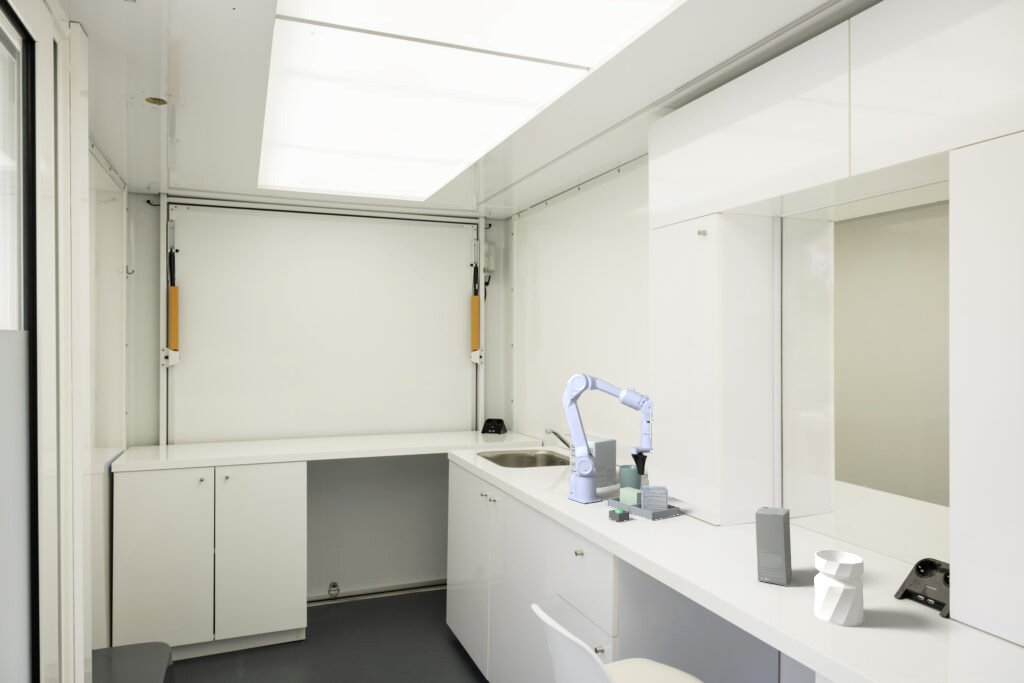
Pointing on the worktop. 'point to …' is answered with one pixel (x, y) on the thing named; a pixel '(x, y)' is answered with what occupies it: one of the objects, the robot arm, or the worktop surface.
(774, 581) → the skincare box
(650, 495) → the medicine box
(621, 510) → the button
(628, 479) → the cup
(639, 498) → the carton
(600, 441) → the supplement box
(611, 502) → the grey divided tray
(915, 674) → the worktop surface
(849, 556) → the white faceted vase
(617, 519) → the button housing
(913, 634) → the worktop surface
